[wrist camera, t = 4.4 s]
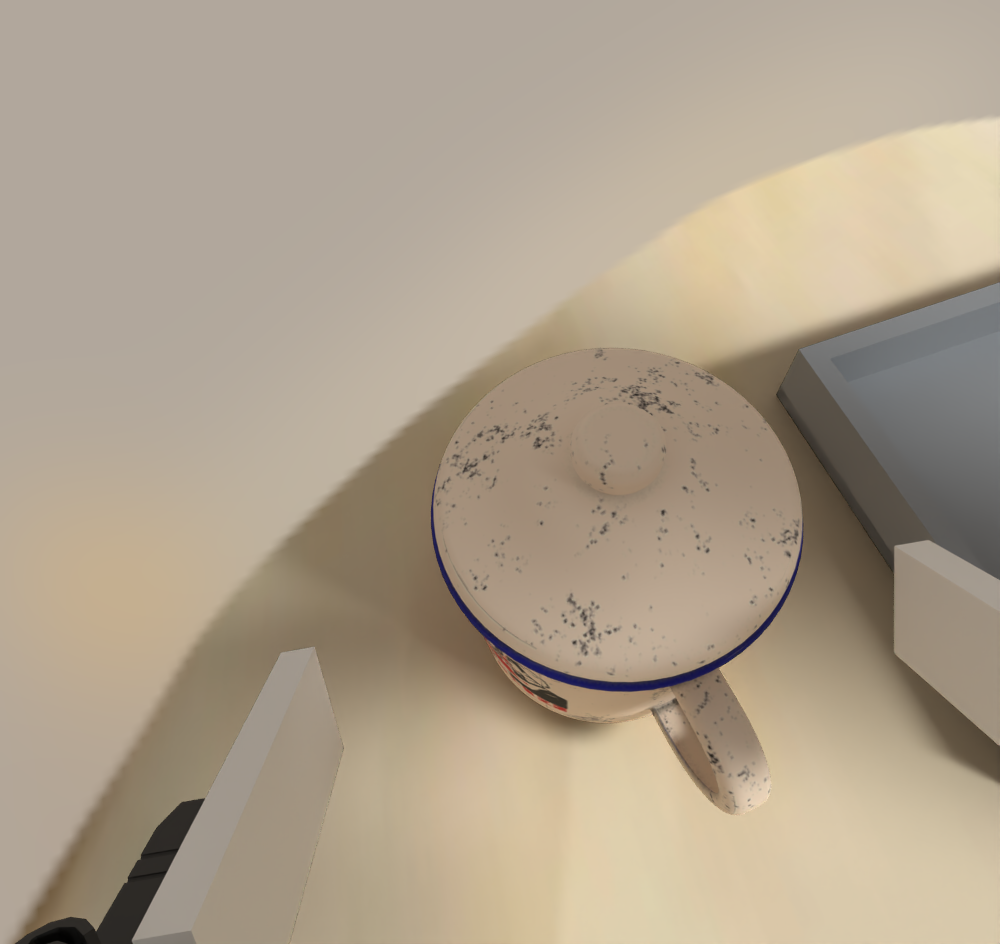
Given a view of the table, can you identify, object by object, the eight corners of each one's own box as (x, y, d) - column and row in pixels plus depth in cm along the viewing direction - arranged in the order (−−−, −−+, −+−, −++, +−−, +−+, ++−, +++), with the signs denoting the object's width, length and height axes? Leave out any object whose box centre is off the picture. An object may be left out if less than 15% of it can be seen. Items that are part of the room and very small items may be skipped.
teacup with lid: (438, 544, 25) (348, 361, 15) (646, 452, 26) (695, 221, 16) (578, 877, 20) (587, 949, 9) (834, 746, 21) (1094, 681, 10)
